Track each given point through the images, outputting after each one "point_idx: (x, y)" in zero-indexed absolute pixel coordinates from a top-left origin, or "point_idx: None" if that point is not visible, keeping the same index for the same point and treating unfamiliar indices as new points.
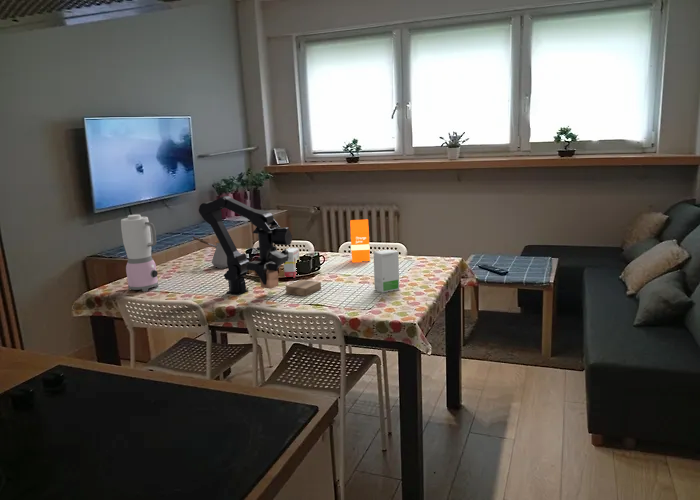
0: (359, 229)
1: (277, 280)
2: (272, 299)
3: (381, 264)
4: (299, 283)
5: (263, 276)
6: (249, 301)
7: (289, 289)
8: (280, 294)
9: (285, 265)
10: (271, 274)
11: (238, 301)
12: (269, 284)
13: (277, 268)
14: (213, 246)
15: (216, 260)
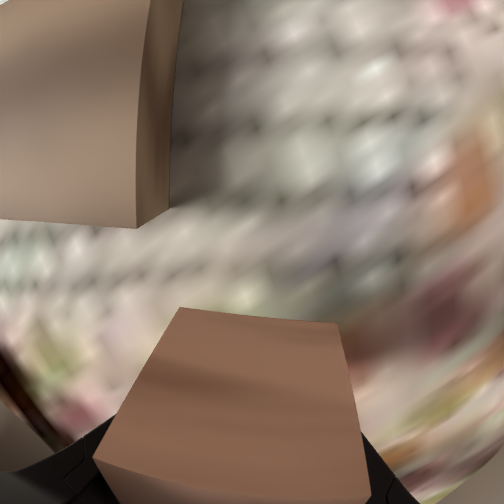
0: None
1: (173, 350)
2: (393, 222)
3: None
4: (24, 140)
5: (396, 495)
6: (455, 360)
7: (152, 168)
8: (226, 239)
9: None
10: (303, 477)
11: (451, 410)
12: (343, 367)
13: (45, 481)
14: None
15: None
